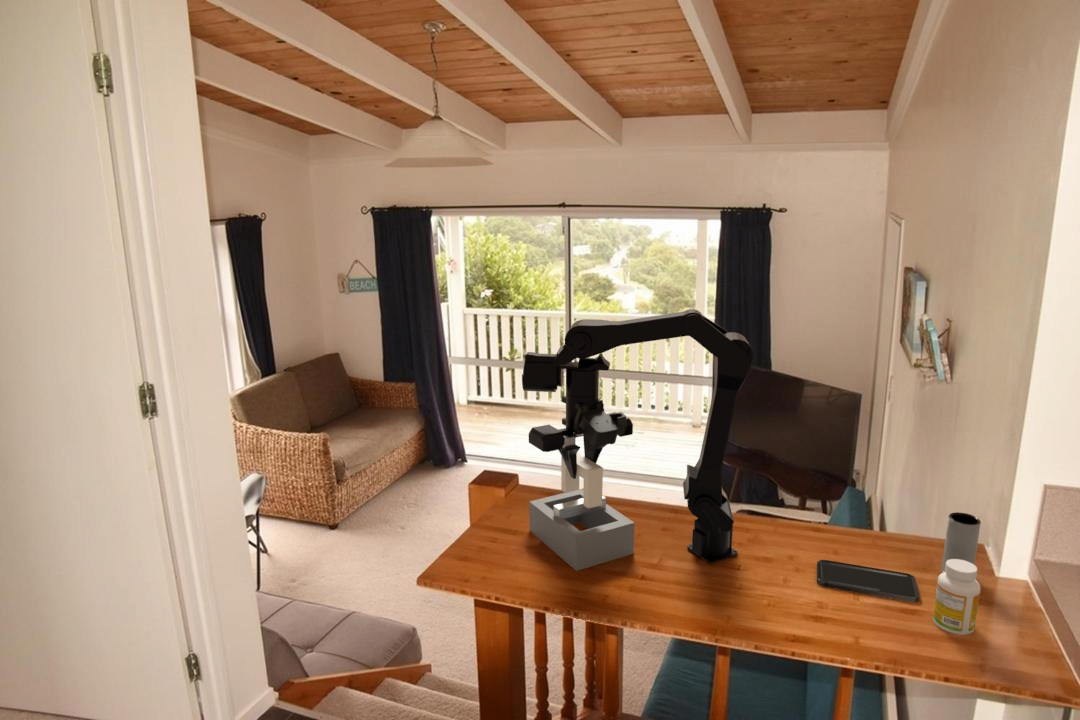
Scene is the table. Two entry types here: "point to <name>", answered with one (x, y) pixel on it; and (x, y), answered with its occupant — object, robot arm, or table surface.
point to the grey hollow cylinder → (961, 538)
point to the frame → (582, 532)
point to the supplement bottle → (957, 597)
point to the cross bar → (575, 508)
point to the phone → (867, 580)
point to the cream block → (591, 480)
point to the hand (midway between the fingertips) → (581, 476)
